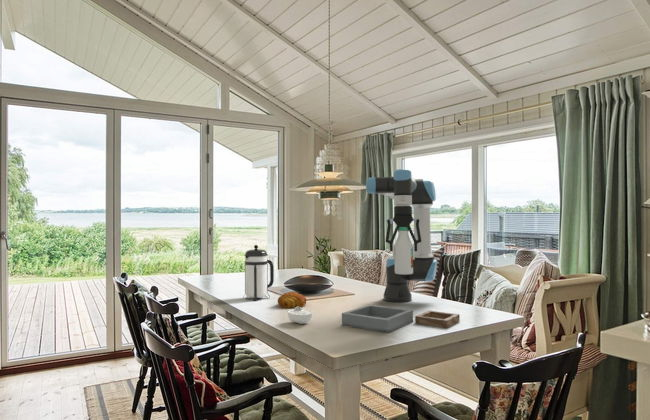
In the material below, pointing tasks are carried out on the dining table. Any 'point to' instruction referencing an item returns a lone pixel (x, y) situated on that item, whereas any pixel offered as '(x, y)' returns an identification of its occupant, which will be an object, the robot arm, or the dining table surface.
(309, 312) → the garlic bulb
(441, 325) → the wooden square tray
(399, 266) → the milk bottle
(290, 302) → the croissant
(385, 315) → the charcoal tray
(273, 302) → the dining table surface
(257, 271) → the coffee press
